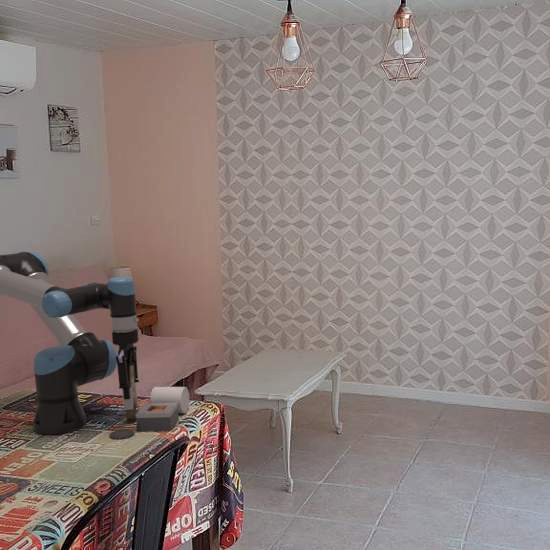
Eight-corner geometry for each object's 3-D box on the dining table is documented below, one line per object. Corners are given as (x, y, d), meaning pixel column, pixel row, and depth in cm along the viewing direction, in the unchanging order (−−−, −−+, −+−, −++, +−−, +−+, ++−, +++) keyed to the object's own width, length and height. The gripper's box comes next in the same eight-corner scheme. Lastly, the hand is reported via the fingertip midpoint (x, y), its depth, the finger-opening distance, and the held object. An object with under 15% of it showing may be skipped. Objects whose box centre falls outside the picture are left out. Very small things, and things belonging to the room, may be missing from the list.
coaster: (106, 439, 209) (106, 438, 209) (113, 431, 216) (113, 429, 216) (130, 439, 209) (130, 437, 209) (137, 430, 216) (137, 429, 216)
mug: (182, 416, 227) (180, 391, 226) (150, 416, 229) (148, 391, 228) (194, 404, 239) (192, 380, 238) (164, 404, 241) (162, 380, 240)
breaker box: (136, 431, 215) (135, 413, 215) (146, 420, 225) (144, 403, 224) (171, 430, 214) (169, 413, 214) (178, 419, 224) (177, 402, 223)
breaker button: (149, 420, 218) (149, 412, 217) (153, 416, 221) (152, 408, 221) (162, 420, 217) (162, 412, 217) (165, 416, 221) (165, 408, 221)
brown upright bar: (125, 423, 223) (120, 367, 221) (128, 420, 226) (123, 365, 224) (135, 423, 223) (131, 367, 221) (138, 419, 226) (134, 364, 224)
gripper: (129, 335, 212) (135, 415, 215) (144, 323, 229) (150, 398, 232) (103, 336, 213) (110, 416, 216) (120, 324, 230) (126, 398, 233)
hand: (130, 406), depth 224 cm, fingers open, 4 cm apart
